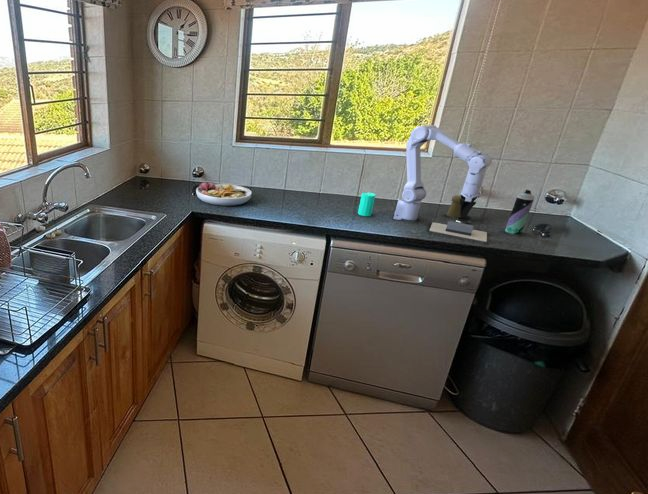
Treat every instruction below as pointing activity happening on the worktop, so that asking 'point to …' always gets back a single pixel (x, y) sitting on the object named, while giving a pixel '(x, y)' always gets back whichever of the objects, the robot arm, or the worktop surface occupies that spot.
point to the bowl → (223, 194)
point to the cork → (455, 207)
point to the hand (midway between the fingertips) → (463, 213)
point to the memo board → (475, 234)
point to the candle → (366, 204)
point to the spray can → (520, 212)
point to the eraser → (459, 228)
